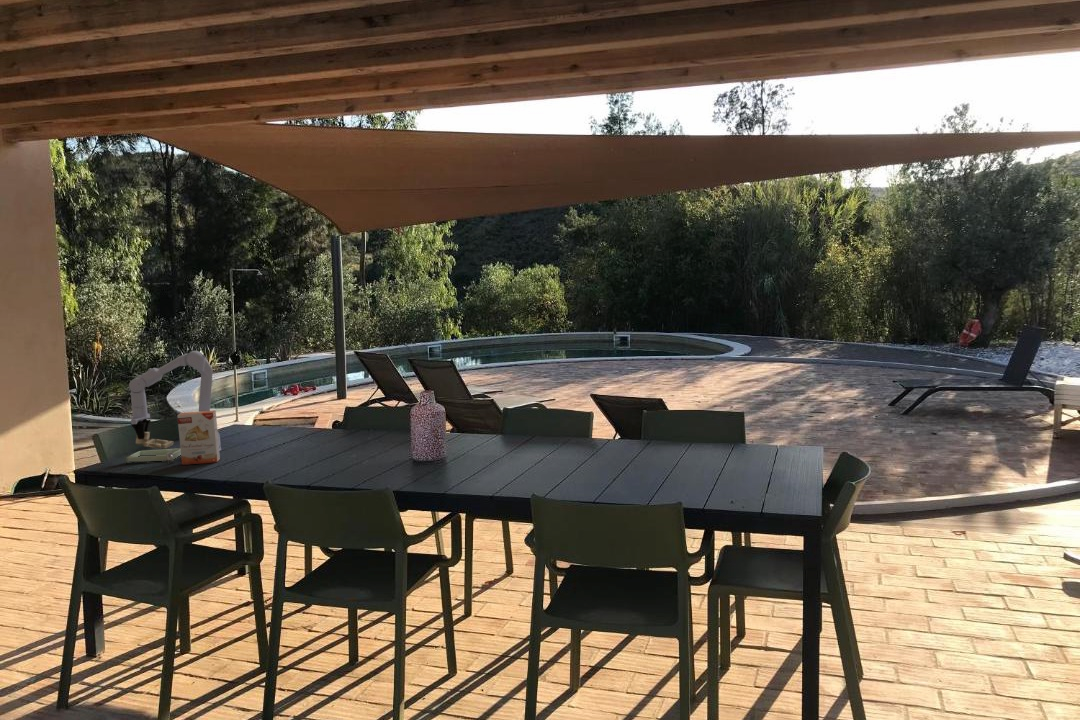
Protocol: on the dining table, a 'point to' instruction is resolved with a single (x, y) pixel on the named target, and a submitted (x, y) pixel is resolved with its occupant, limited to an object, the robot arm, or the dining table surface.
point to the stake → (169, 457)
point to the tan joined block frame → (153, 442)
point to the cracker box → (198, 437)
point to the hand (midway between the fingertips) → (142, 438)
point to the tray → (159, 454)
